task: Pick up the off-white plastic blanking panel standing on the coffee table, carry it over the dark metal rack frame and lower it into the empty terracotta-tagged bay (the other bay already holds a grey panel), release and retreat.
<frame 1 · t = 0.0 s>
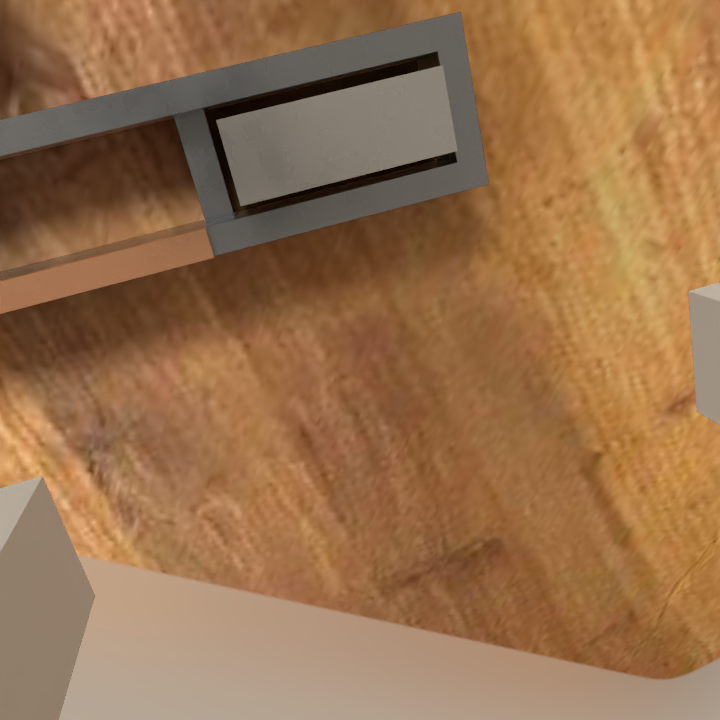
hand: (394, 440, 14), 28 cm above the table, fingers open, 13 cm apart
rack: (147, 180, 38), on the table
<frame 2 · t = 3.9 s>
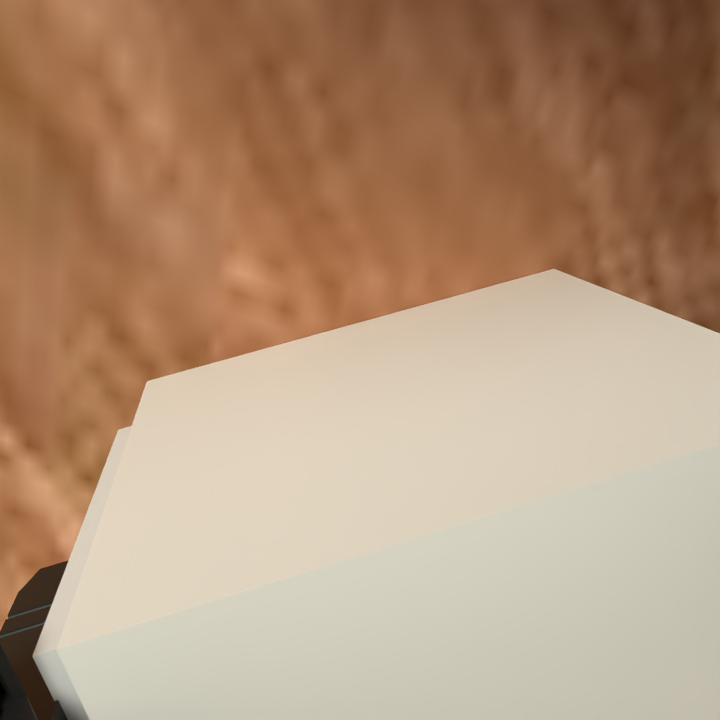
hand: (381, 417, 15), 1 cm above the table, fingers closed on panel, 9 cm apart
panel: (376, 407, 15), on the table, touching gripper
when the fingers open (2 cm above the table, at t = 9.1 s): panel drops 2 cm, resting in rack.
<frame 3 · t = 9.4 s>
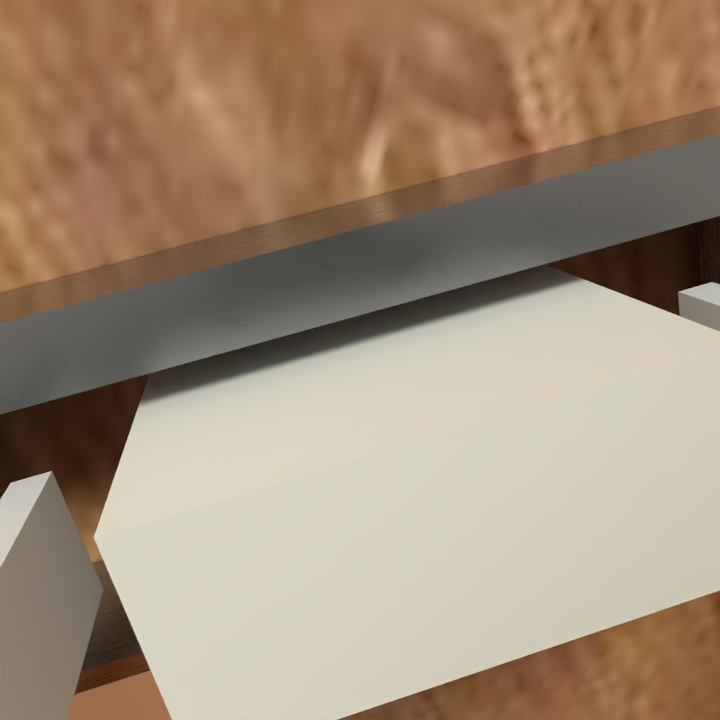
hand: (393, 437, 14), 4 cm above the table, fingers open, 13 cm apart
panel: (360, 377, 17), resting in rack
rack: (612, 308, 18), on the table
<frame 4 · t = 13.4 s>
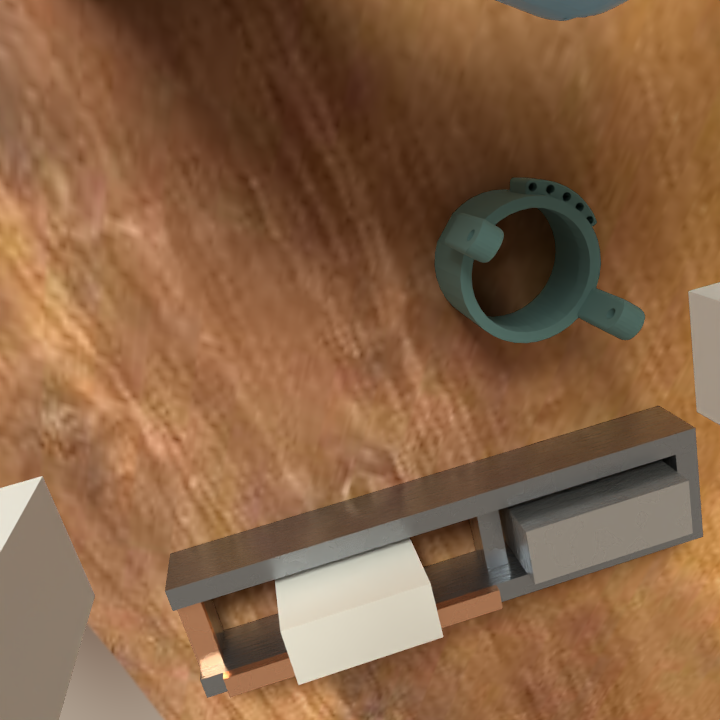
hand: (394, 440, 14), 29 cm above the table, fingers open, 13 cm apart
panel: (342, 557, 48), resting in rack
teal cylindrical holder: (500, 250, 43), on the table
rack: (435, 529, 48), on the table
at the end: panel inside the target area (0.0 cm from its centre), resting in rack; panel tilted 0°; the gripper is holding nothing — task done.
